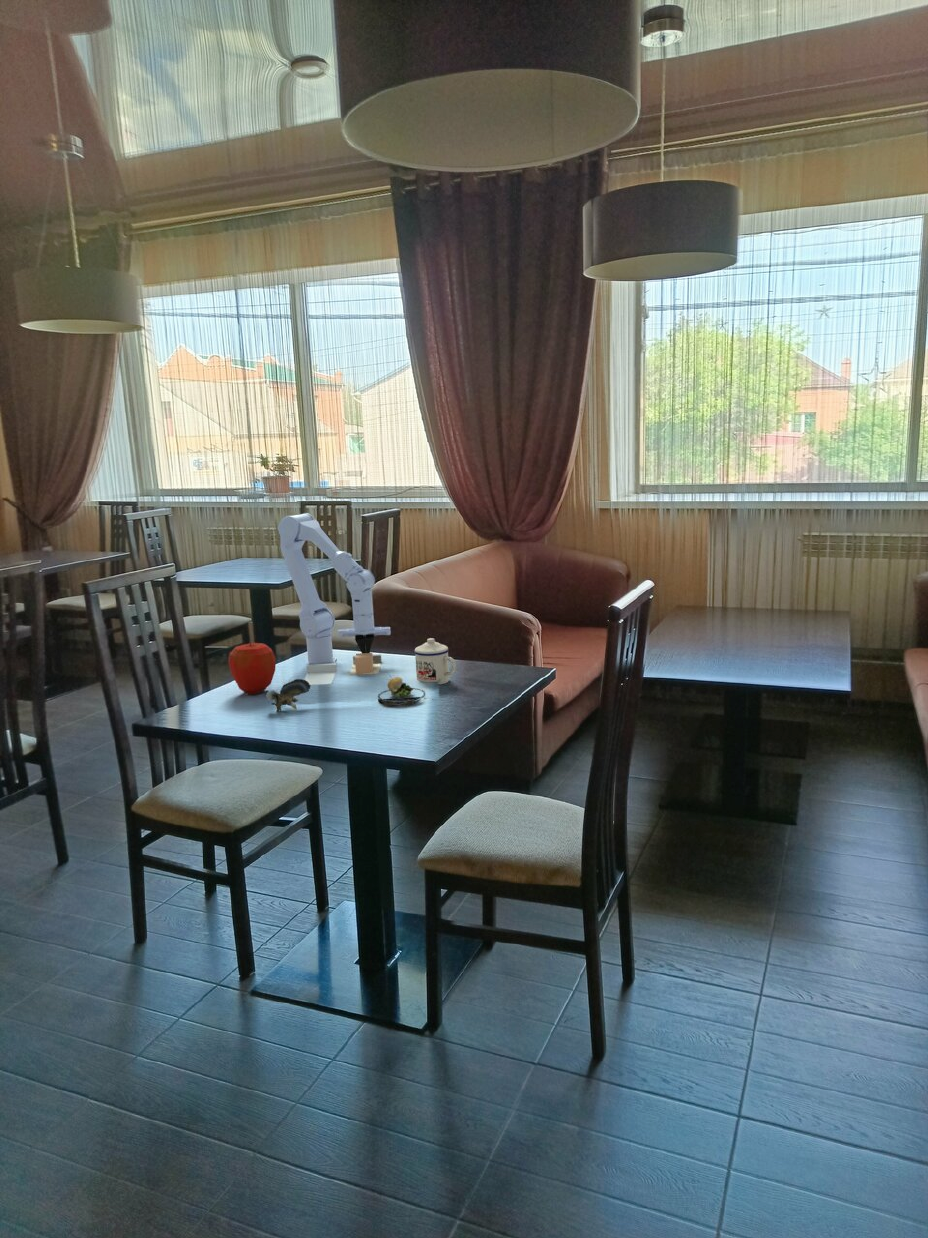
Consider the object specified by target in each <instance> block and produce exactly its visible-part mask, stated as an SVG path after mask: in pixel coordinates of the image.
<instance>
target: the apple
mask: <svg viewBox="0 0 928 1238" xmlns="http://www.w3.org/2000/svg"><path fill="white" fill-rule="evenodd" d="M248 642H249V643H245V644H241V645H237V646H235V647H234V648H233V649H232V650H231V651H230V653H229V655H228V656H229V657H228V660H227V661H228V662H227V663H228V666H229V669H230V673H231V675H232V678H233V680H234V682H235V683H236V685H237V686H238V689H239V690H241V691H242V692H243V693H244V694H246V695H252V696H253V695H258V694H260V693H262V692H264V691H265V690H266V689H267V688H268V687H269V686H270V685H271V684H272V681H273V678H274V674H275V672H276V665H277V664H276V663H277V662H276V661H277V660H276V659H277V658H276V656H275V654H274V653H275V652H274V651H273V650H272V648H270V646H268V645H267V644H265V643H262V642H261V643H259V642H251V640H249V641H248Z"/></svg>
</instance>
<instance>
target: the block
mask: <svg viewBox="0 0 928 1238" xmlns="http://www.w3.org/2000/svg"><path fill="white" fill-rule="evenodd" d="M373 655H374V654H373V652H370V653H361V652H360V653H355V655H354V656H355V667H356V674H358V673H372V672H373V669H374V668H373Z"/></svg>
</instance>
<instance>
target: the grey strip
mask: <svg viewBox="0 0 928 1238" xmlns="http://www.w3.org/2000/svg"><path fill="white" fill-rule="evenodd" d="M337 668H338V667H337V663H336V662H329V663H323V664H307V665H306V671H307V673H306V675H305V677H304V678H303V680H306V681H307V682H308V683H309V685H311V686H317V685H331V684H332V683H333V681H334V679H335V676H336V674H337V671H338V669H337Z"/></svg>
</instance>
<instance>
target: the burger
mask: <svg viewBox="0 0 928 1238" xmlns="http://www.w3.org/2000/svg"><path fill="white" fill-rule="evenodd" d="M388 674H389V676H390V678H391V679H390V680H389V681H388V683H387V688H388V689H387V690H384V691H381V692H380V693H378V694H377V698H378V699H377V702H378V704H379V705H382V706H385V707H393V708H394V707H395V708H399V707H410V706H411V707H412V706H413V704H414V702H415V701H418V700H421V698H422V697H423V696H425V695H426V692H425V690H423V689H420V688H416V687H415V688H414V687H411V686H410V685H408V684H407V683H406V682H403V678H402V677H401V676H397V677H393V678H392V676H391V674H390V673H388ZM413 690H414V691H415V690H417V691H420V692H422V693H423V694H422V696H414V697H413V696H411V695H412V691H413ZM387 692H390V693H391V694H390V695H392V697H393V698H381V696H382V695H383V694H384V693H387ZM410 696H411V697H410Z"/></svg>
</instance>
